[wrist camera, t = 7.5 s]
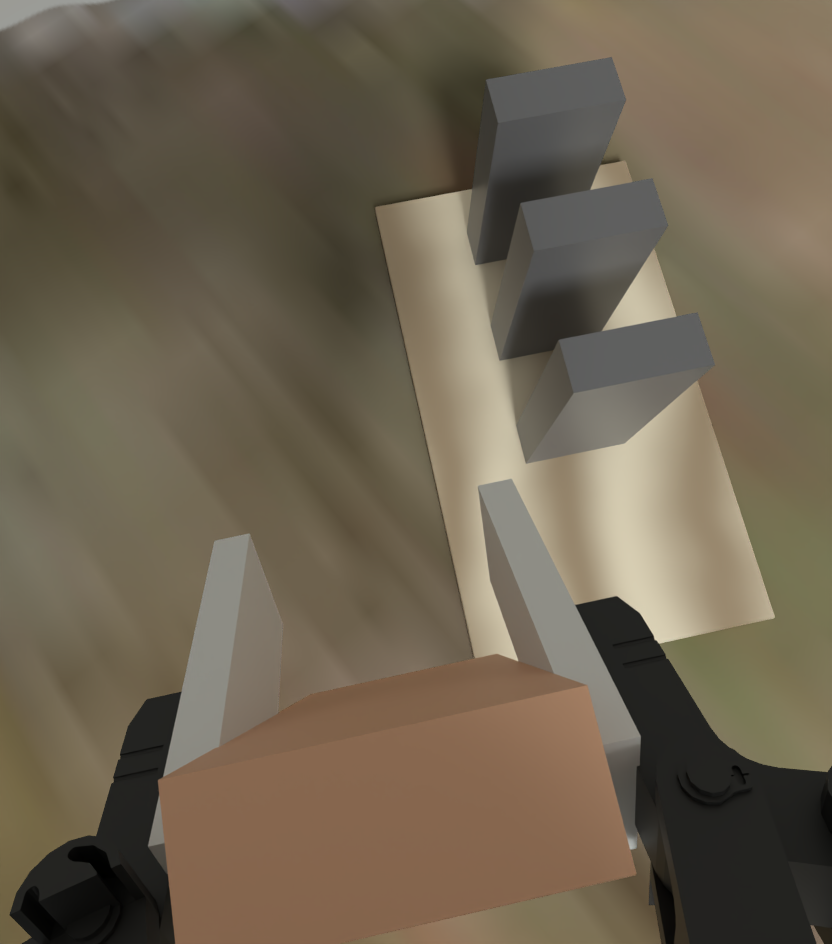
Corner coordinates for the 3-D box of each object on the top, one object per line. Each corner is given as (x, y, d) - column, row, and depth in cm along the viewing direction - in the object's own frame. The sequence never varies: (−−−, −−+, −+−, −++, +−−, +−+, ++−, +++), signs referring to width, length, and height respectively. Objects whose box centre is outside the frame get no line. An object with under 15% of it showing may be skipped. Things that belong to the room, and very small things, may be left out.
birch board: (479, 681, 30) (480, 682, 30) (375, 214, 36) (374, 207, 35) (768, 617, 31) (775, 617, 30) (622, 168, 36) (625, 160, 36)
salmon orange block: (515, 732, 17) (636, 875, 7) (324, 775, 17) (179, 980, 7) (496, 653, 17) (588, 684, 8) (311, 694, 17) (157, 780, 7)
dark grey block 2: (624, 443, 32) (715, 364, 22) (525, 463, 32) (573, 393, 22) (613, 405, 33) (697, 312, 23) (516, 425, 32) (558, 339, 23)
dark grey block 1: (567, 247, 35) (626, 99, 25) (475, 265, 34) (498, 123, 25) (557, 215, 35) (611, 57, 25) (466, 232, 35) (486, 79, 25)
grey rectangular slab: (594, 342, 33) (668, 225, 24) (499, 360, 33) (534, 251, 23) (584, 306, 34) (652, 178, 24) (490, 325, 34) (520, 202, 24)
